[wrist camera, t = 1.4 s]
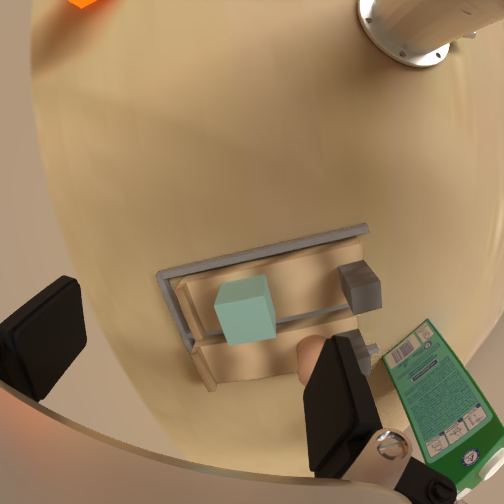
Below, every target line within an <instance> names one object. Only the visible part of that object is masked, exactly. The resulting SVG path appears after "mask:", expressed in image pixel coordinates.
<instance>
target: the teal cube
mask: <svg viewBox="0 0 504 504" xmlns="http://www.w3.org/2000/svg"><path fill="white" fill-rule="evenodd" d="M214 308H215V311H216V313H217V316H218V319H219V322H220V324H221V327H222V330H223V332H224V335H225V337H226V340H227V343H228V345H229V346H231V345H237V344H243V343H249V342H255V341H260V340H266V339H271V338H276V319H275V309H274V306H273V302H272V298H271V294H270V291H269V287H268V283H267V279H266V276H265V274H263V275H259V276H254V277H249V278H245V279H240V280H236V281H231V282H226V283H221V286H220V289H219V292H218V295H217V297H216V300H215V303H214Z"/></svg>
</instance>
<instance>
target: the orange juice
mask: <svg viewBox="0 0 504 504" xmlns="http://www.w3.org/2000/svg"><path fill="white" fill-rule="evenodd" d="M68 1H69V2H71V3H73V4H75V5H76V6H78V7H80V8H81V9H82V8H83V7H85V6H87V5H89V4H91V3H93V2H95V1H96V0H68Z"/></svg>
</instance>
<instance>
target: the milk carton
mask: <svg viewBox="0 0 504 504" xmlns="http://www.w3.org/2000/svg"><path fill="white" fill-rule="evenodd" d="M382 360H383V362H384V364H385V366H386V368H387V371H388V373H389V375H390V377H391V380H392V382H393V384H394V386H395V389H396V391H397V393H398V396H399V398H400V400H401V403H402V405H403V407H404V410H405V412H406V415H407V417H408V420H409V422H410V425H411V427H412V430H413V432H414V435H415V437H416V440H417V442H418V445H419V448H420V450H421V453H422V456H423V459H424V462H425V464H426V465H427V466H429V467H430V468H432V469H434V470H436V471H437V472H439V473H441V474H443V475H445V476H446V477H448V478H449V479H451V480H452V481H453V483H454V484H455V486H456V489H457V498H456V499H457V500H458V501H459V500H460V499H462V498H463V497H465V496H466V495H467V494H468V493H469V492H470V491H471V490H472V489H473V488H474V487H475V486H477V485H478V484H479V482H481V481H482V480H487V479H488V478H489V477H491V476H492V475H493V474H494V473H495V472H496V471H497V470H498V469H499V468H500V467H501V466H502V464H504V427H503V425H502V423H501V422H500V420H499V419H498V417H497V415H496V413H495V412H494V410H493V409H492V407H491V405H490V404H489V402H488V401H487V399H486V398H485V396H484V395H483V393H482V392H481V390H480V389H479V387H478V386H477V384H476V383H475V381H474V380H473V378H472V377H471V375H470V374H469V372H468V371H467V370H466V368H465V367H464V365H463V364H462V363H461V361H460V360H459V358H458V357H457V356H456V354H455V353H454V352H453V350H452V349H451V348H450V346H449V345H448V344H447V342H446V341H445V340H444V338H443V337H442V336H441V334H440V333H439V332H438V331H437V329H436V328H435V327H434V326H433V324H432V323H431V322H430V321H429V319H427V320H426V321H425V322H423V323H422V324H421V325H420V326H419V327H418V328H417V329H416V330H414V331H413V332H412V333H411V334H410V335H409V336H408V337H406V338H405V339H404V340H403V341H402V342H400V343H399V344H398V345H397V346H396V347H394V348H393V349H392V350H391V351H389V352H388V353H387V354H386V355H384V356H383V357H382Z"/></svg>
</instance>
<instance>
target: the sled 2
mask: <svg viewBox="0 0 504 504" xmlns="http://www.w3.org/2000/svg"><path fill="white" fill-rule="evenodd" d="M310 335H321V336H324V337H326V338H329V339H330V338H331V337H332V336H333V335H337V336H344V337H348V338H349V340H350V342H351V345H352V348H353V350H354V353H355V356H356V359H357V361H358V364H359V367H360V370H361V373H362V374H364V375H365V376H368V375H371V361H370V354H369V352H368V350H367V347H366V345H365V343H364V340H363V338H362V336H361V333H360V331H359V329H358V319H357V315H353V313H352V311H351V308H350V307H347V308H343V309H339V310H335V311H331V312H327V313H322V314H318V315H314V316H309V317H305V318H300V319H295V320H291V321H286V322H281V323H276V338H271V339H266V340H260V341H255V342H249V343H243V344H237V345H231V346H229V345H228V343H227V340H226V337H225V335H224V333H221V334H215V335H208V336H204V337H203V340H196V341H195V343H194V346H193V349H192V352H191V354H190V356H191V358H192V360H193V362H194V364H195V366H196V368H197V370H198V372H199V374H200V376H201V378H202V380H203V382H204V384H205V386H206V388H207V390H208V392H214V391H216V386H217V383H227V382H235V381H243V380H250V379H257V378H264V377H270V376H276V375H282V374H287V373H293V372H298V363H297V354H296V347H297V345H298V343H299V342H300V341H301V340H302V339H303V338H305V337H307V336H310Z"/></svg>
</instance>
